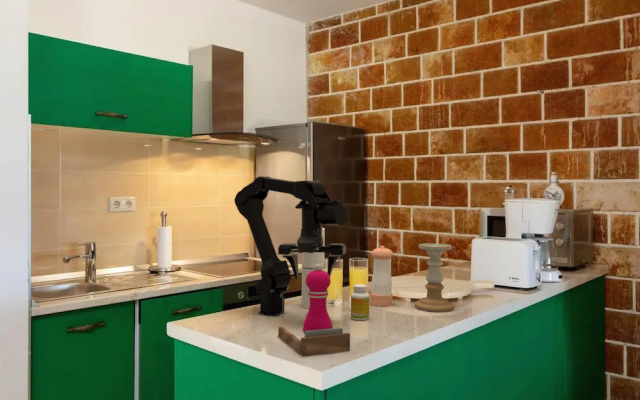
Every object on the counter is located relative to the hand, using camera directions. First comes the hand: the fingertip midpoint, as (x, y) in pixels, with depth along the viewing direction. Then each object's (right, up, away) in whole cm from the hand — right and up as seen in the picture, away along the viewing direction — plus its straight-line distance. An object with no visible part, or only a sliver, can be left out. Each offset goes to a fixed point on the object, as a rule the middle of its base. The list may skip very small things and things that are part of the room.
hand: (312, 279), depth 156 cm
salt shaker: (+22, -12, +24) cm, 35 cm away
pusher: (+3, -13, -28) cm, 31 cm away
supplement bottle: (+14, -12, +4) cm, 19 cm away
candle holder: (+39, -12, +19) cm, 45 cm away
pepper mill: (+2, -13, -24) cm, 27 cm away
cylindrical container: (0, -12, +19) cm, 23 cm away
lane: (0, -13, -21) cm, 24 cm away
